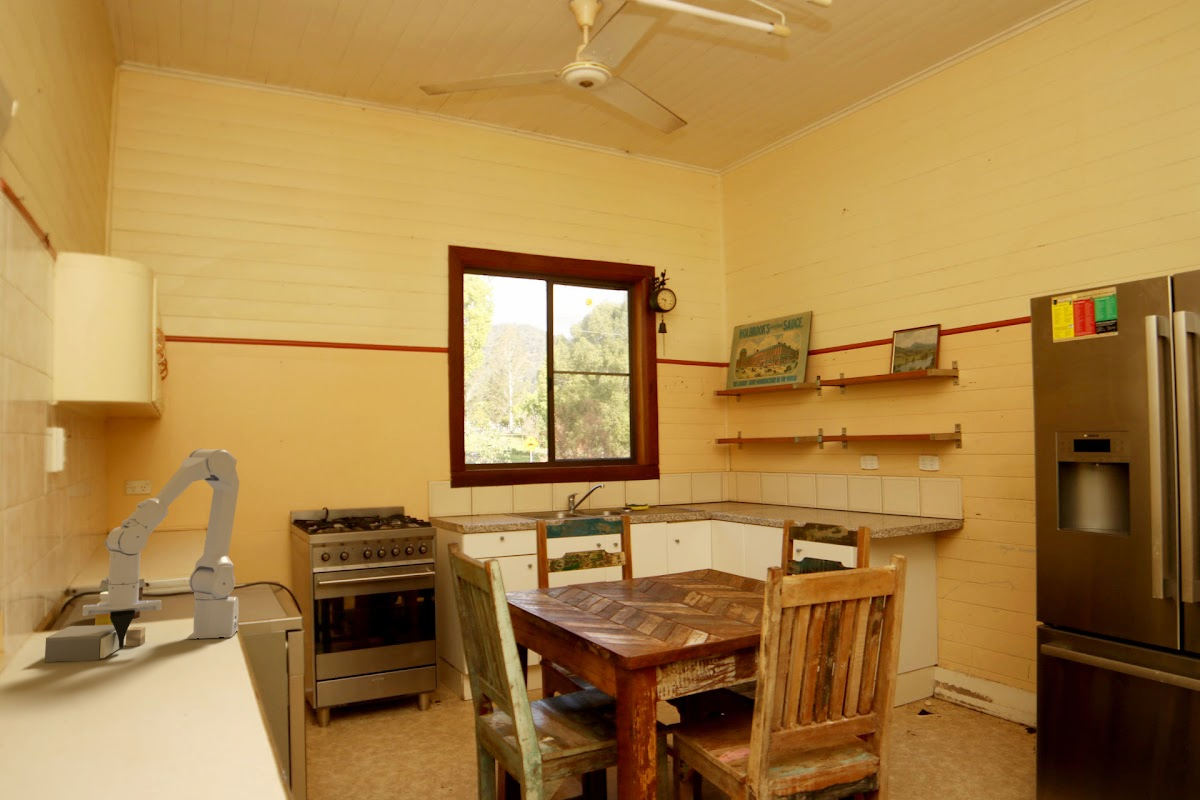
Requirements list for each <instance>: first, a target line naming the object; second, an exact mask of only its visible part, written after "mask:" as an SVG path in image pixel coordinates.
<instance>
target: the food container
mask: <svg viewBox="0 0 1200 800" xmlns="http://www.w3.org/2000/svg"><path fill="white" fill-rule="evenodd" d="M108 586H109V576H107V577H104V578H102V580H101V581H100V584H99V589H102V592H108ZM145 587H146V582H145V579H144V578H141V579H140V578H139V598H138V601H143V591H144V588H145ZM131 609H133V608H131ZM138 609H139V608H138ZM122 610H125V609H122ZM140 615H141V611H135V615H134V617H133V619H137V618H140Z"/></svg>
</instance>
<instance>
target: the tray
mask: <svg viewBox="0 0 1200 800" xmlns="http://www.w3.org/2000/svg"><path fill="white" fill-rule="evenodd" d="M119 649H120V648H119V640H118V636H117V633H116V630H115V631H113V632H112V633H110V634H108V635H106V636H105V637H103V638H101V645H100V658H102V659H105V658H107V657H108V656H110V655H111V654H113V653H114V652H116V651H117V650H119Z"/></svg>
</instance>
